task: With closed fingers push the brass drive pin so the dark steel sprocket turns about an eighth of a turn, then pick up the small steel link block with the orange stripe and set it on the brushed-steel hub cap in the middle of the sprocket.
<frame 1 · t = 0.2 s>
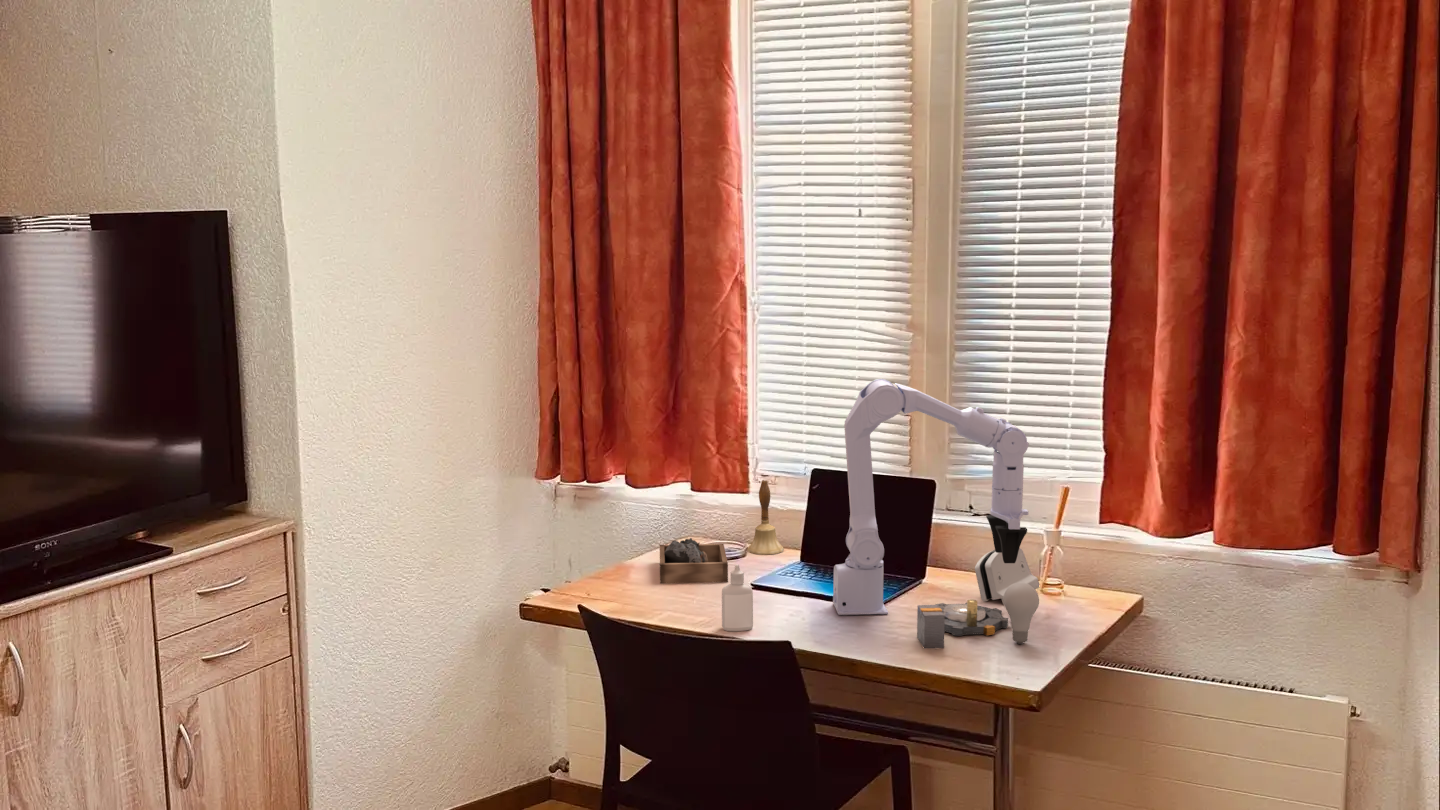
hand: (1005, 557, 240), 10 cm above the table, tool pointing down, fingers open, 7 cm apart
open wooden box: (692, 572, 267), on the table
hub: (964, 623, 232), on the table
marked link: (930, 642, 222), on the table
sprocket: (964, 607, 231), point 3 cm above the table, hinge at 0.0°
eye dropper bottle: (737, 629, 230), on the table
lightbulb: (1019, 644, 221), on the table
hand bell: (765, 551, 285), on the table
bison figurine: (693, 571, 267), resting in open wooden box
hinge: (1005, 594, 251), on the table
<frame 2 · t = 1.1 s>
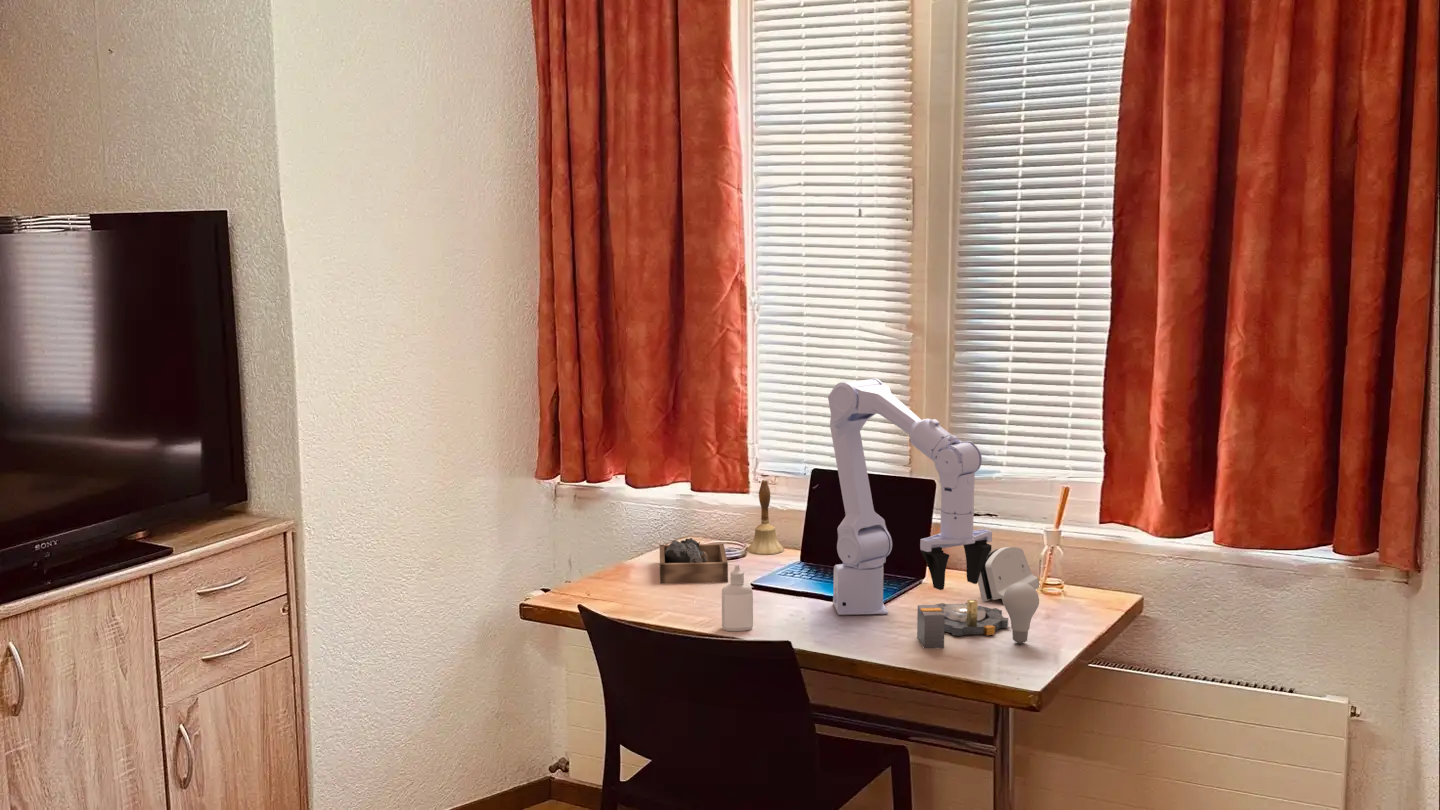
hand: (955, 585, 223), 9 cm above the table, tool pointing down, fingers open, 7 cm apart
nothing on the table moved.
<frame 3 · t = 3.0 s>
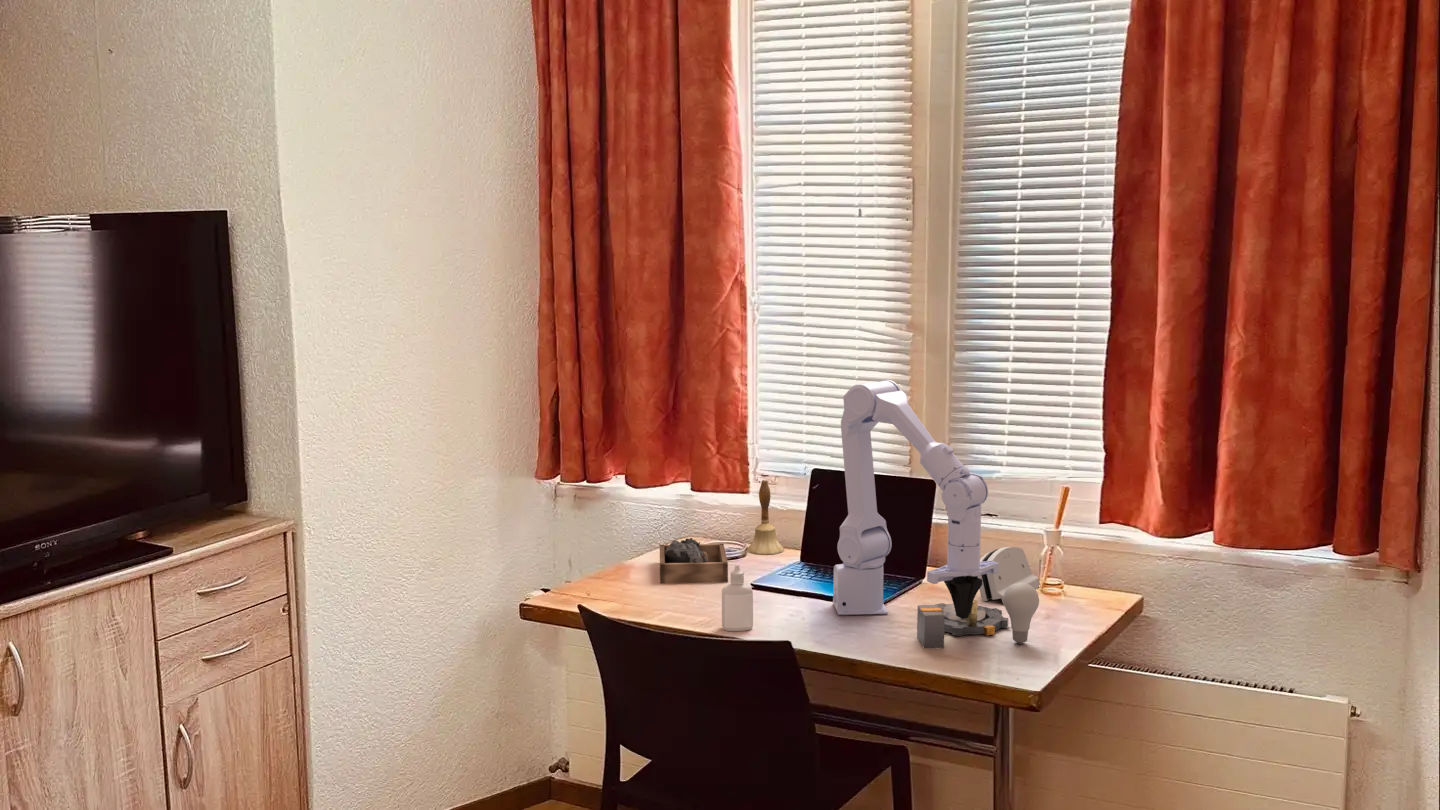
hand: (962, 616, 225), 3 cm above the table, tool pointing down, fingers closed, pressing on sprocket
sprocket: (964, 607, 231), point 3 cm above the table, hinge at 0.0°, touching gripper
everything else where it was.
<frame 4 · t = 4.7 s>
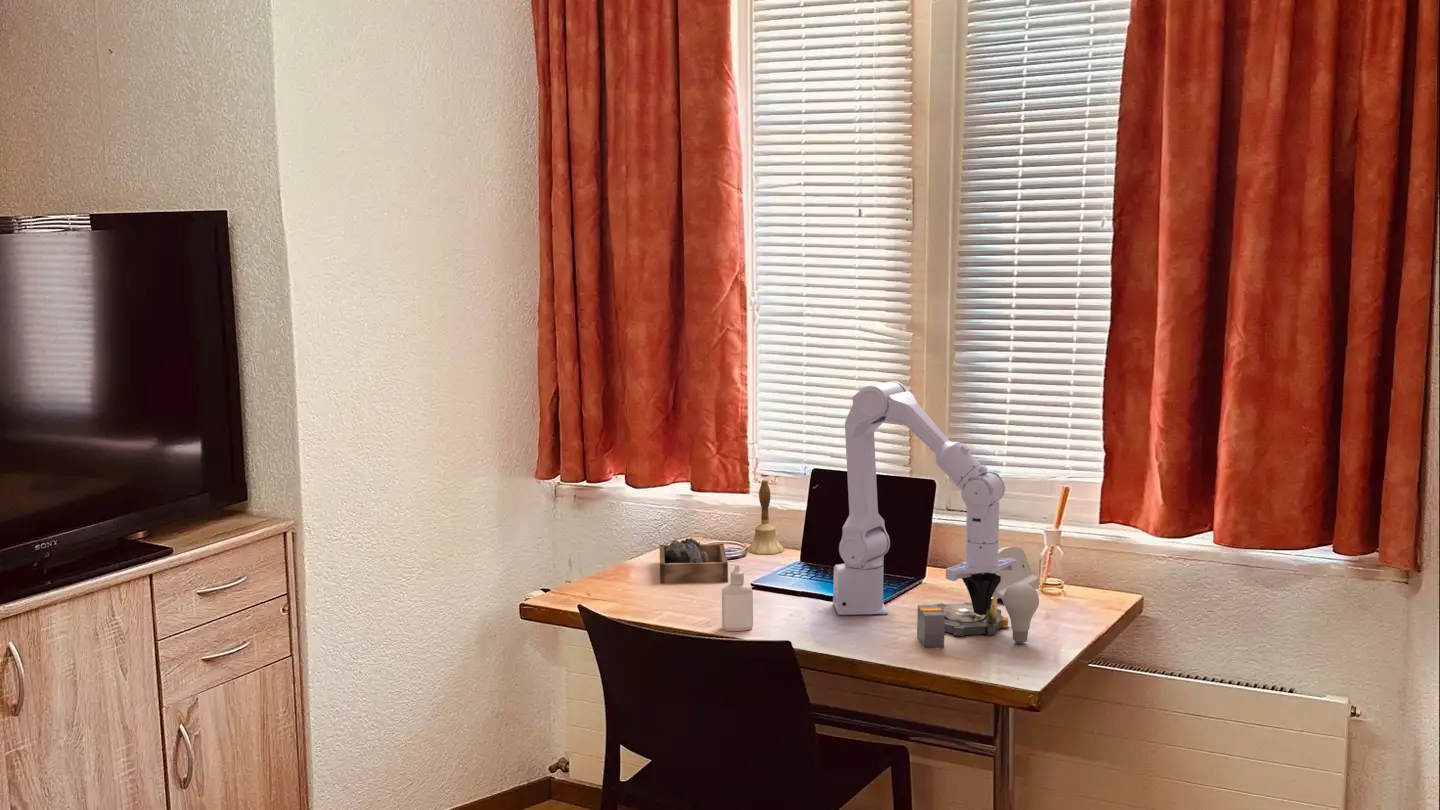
hand: (980, 613, 227), 3 cm above the table, tool pointing down, fingers closed
sprocket: (964, 607, 231), point 3 cm above the table, hinge at 46.8°
everything else where it was.
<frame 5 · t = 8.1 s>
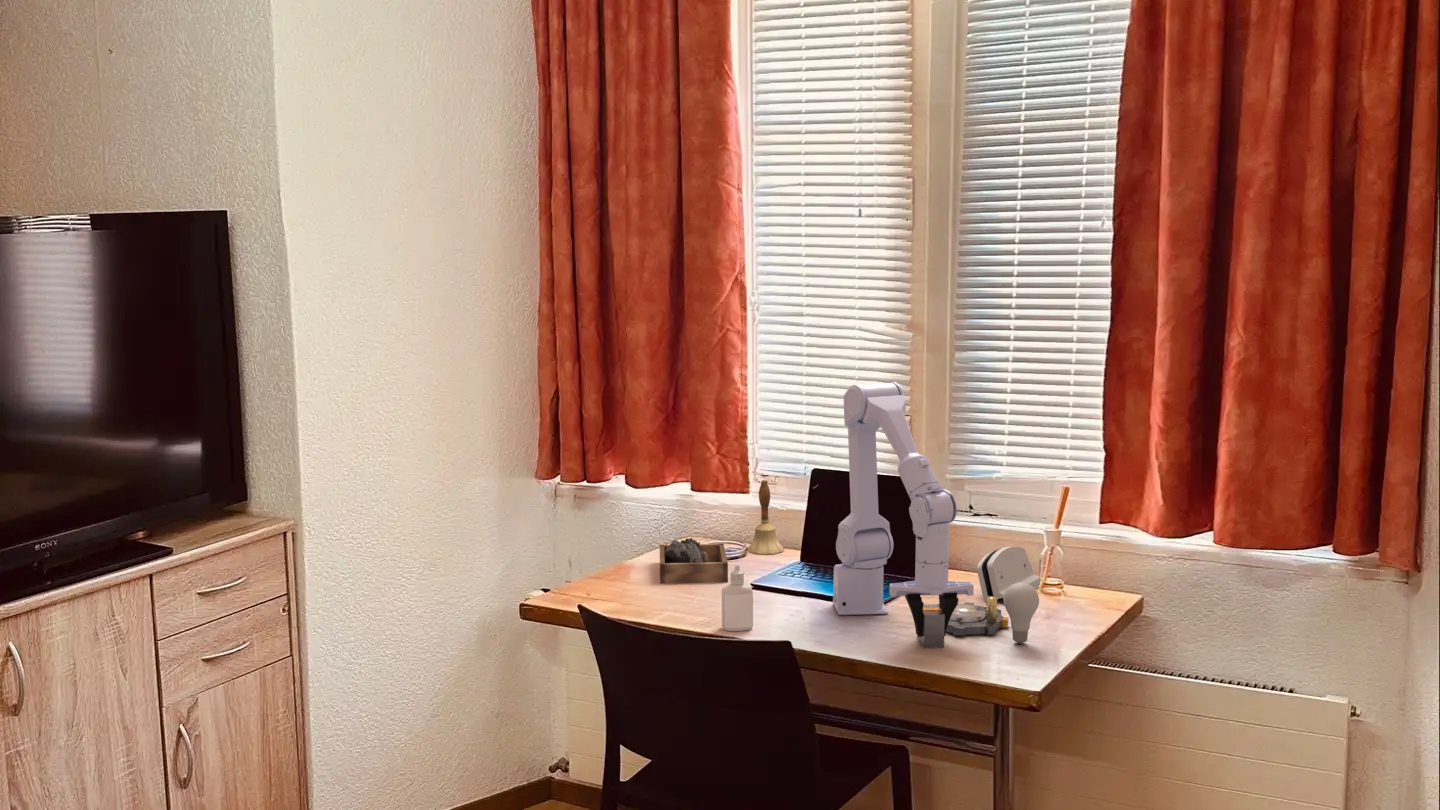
hand: (930, 634, 221), 1 cm above the table, tool pointing down, fingers closed on marked link, 3 cm apart
marked link: (930, 642, 222), on the table, touching gripper
everything else where it was.
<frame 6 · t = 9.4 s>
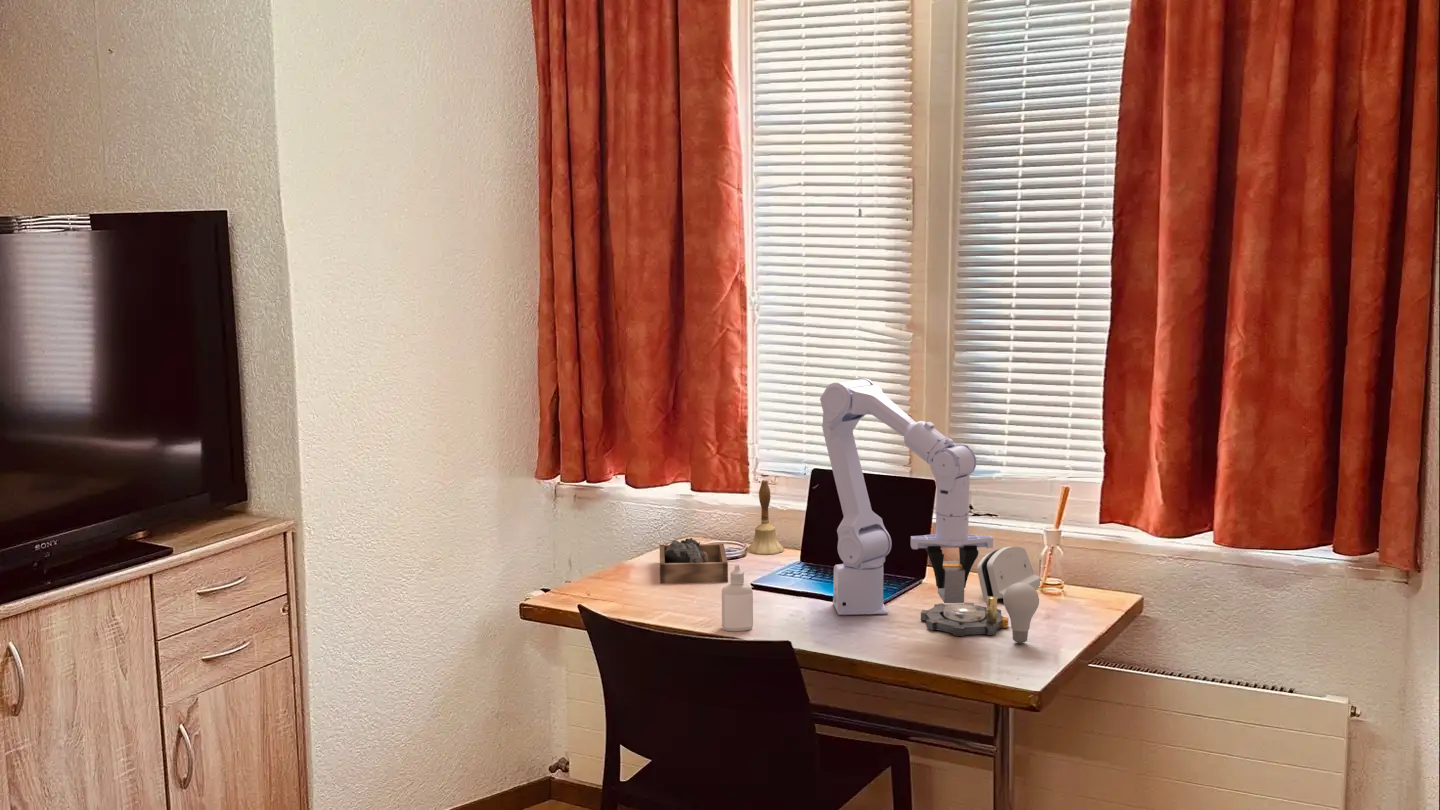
hand: (950, 586, 226), 8 cm above the table, tool pointing down, fingers closed on marked link, 3 cm apart
marked link: (950, 597, 226), point 6 cm above the table, touching gripper
everything else where it was.
when the fingers open (5 cm above the table, at t = 10.7 s): marked link stays where it is, resting on hub.
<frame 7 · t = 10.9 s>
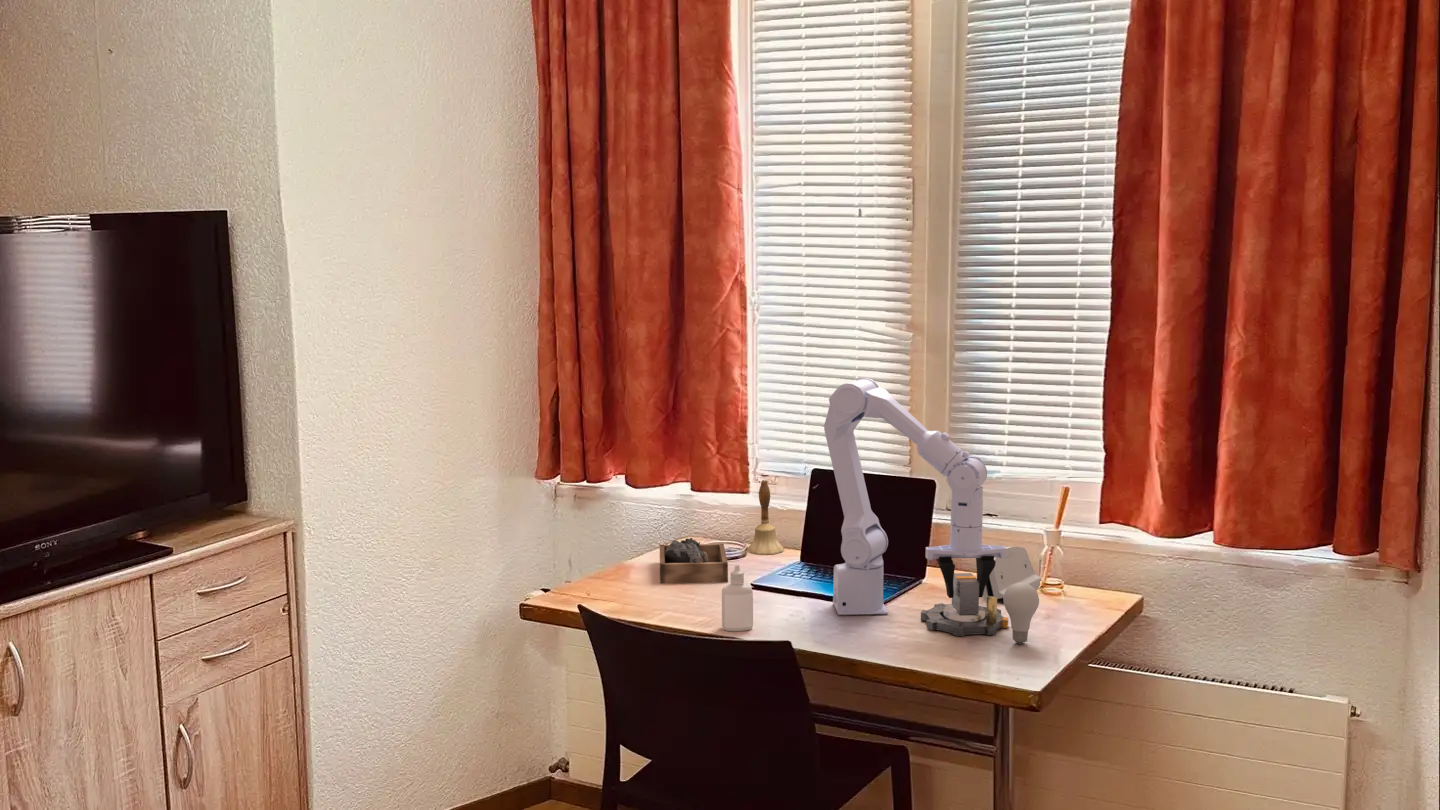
hand: (964, 596, 231), 5 cm above the table, tool pointing down, fingers open, 5 cm apart
marked link: (964, 609, 231), point 3 cm above the table, touching hub
everything else where it was.
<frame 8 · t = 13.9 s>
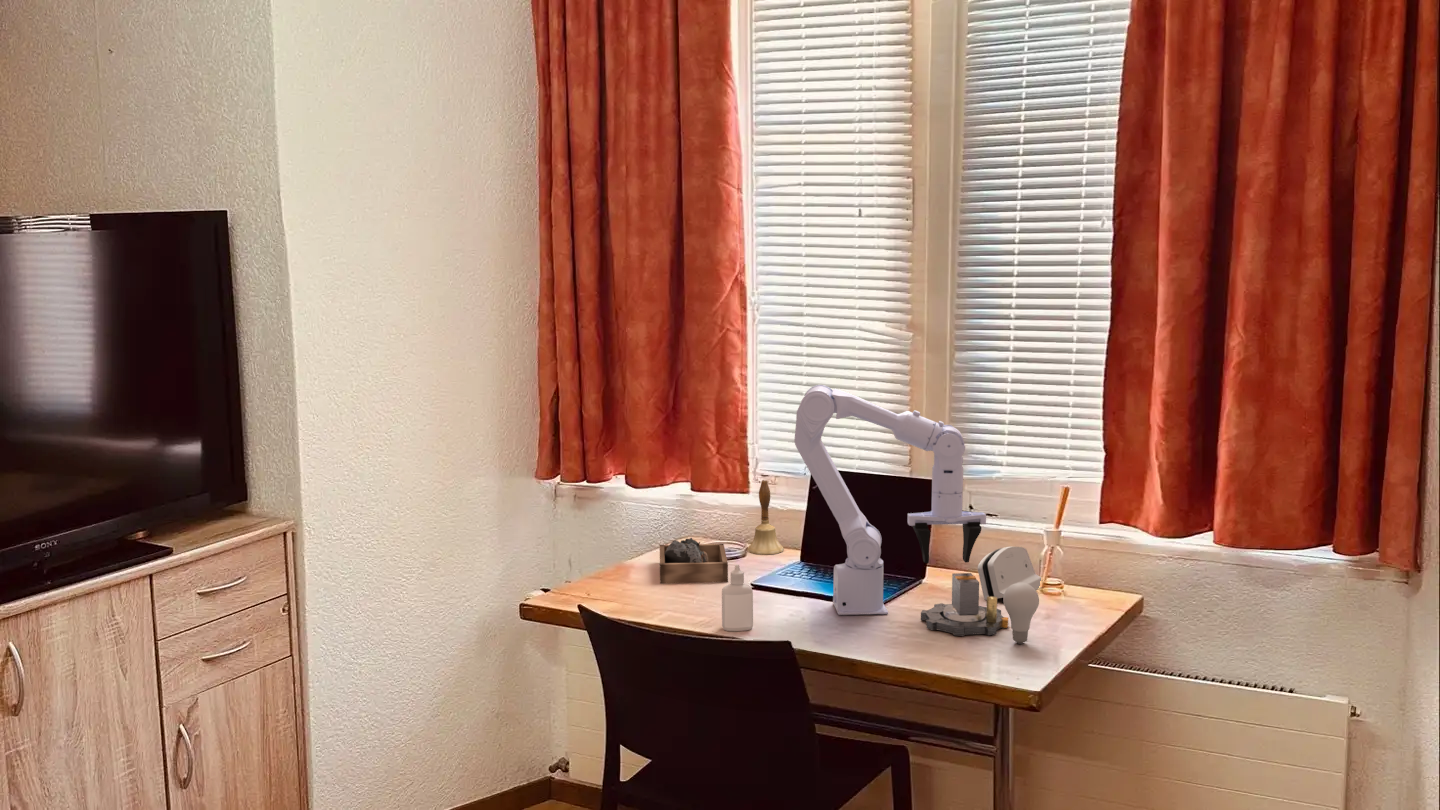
hand: (945, 561, 237), 10 cm above the table, tool pointing down, fingers open, 7 cm apart
nothing on the table moved.
at the end: sprocket at +47° (first picture: +0°); marked link 0.4 cm from the hub (horizontally); marked link inside the target area (0.4 cm from its centre), point 2.8 cm above the table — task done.
